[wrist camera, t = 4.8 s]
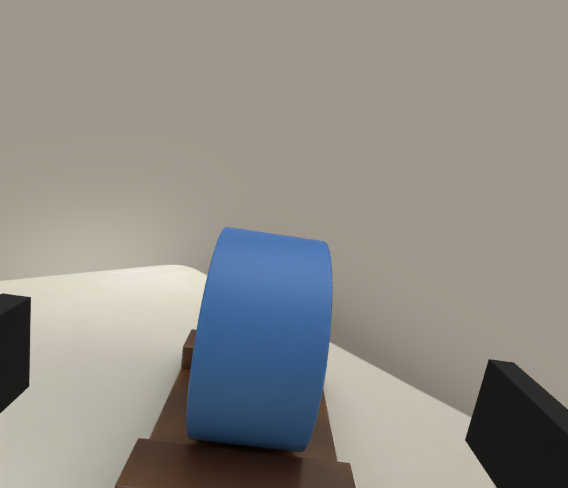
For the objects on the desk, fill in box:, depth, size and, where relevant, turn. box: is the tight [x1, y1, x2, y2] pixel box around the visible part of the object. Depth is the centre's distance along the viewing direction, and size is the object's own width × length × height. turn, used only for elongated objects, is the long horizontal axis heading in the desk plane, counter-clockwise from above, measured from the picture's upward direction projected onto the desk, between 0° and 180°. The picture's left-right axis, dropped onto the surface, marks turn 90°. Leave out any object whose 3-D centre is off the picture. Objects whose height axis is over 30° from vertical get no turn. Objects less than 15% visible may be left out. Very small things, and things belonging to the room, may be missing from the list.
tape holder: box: [115, 329, 356, 488], centre depth 21 cm, size 15×9×2 cm, turn 1°
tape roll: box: [186, 227, 332, 452], centre depth 20 cm, size 10×5×10 cm, turn 1°
